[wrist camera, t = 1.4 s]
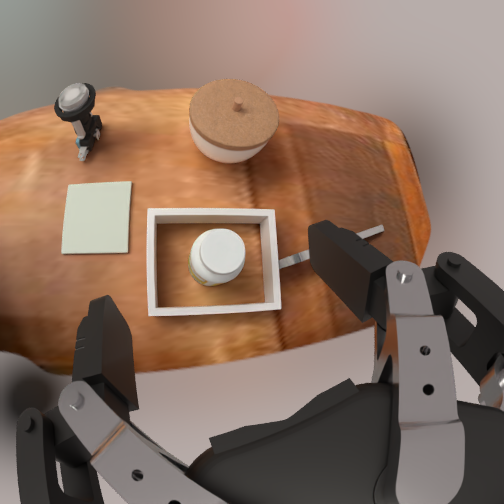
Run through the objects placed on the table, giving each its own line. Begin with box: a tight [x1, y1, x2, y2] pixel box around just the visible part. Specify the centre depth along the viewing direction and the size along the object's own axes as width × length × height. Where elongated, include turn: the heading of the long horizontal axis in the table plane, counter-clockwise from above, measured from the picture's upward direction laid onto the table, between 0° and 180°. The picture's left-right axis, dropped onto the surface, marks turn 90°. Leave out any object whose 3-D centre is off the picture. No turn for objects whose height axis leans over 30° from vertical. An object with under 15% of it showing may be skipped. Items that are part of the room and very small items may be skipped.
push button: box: [54, 83, 102, 161], centre depth 27 cm, size 7×5×10 cm
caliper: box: [278, 225, 384, 269], centre depth 35 cm, size 20×1×6 cm, turn 110°
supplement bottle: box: [188, 229, 245, 286], centre depth 29 cm, size 5×5×10 cm
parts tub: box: [147, 208, 281, 316], centre depth 32 cm, size 12×15×4 cm
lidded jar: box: [189, 79, 279, 163], centre depth 32 cm, size 11×11×9 cm
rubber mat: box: [62, 181, 132, 254], centre depth 30 cm, size 9×9×1 cm
